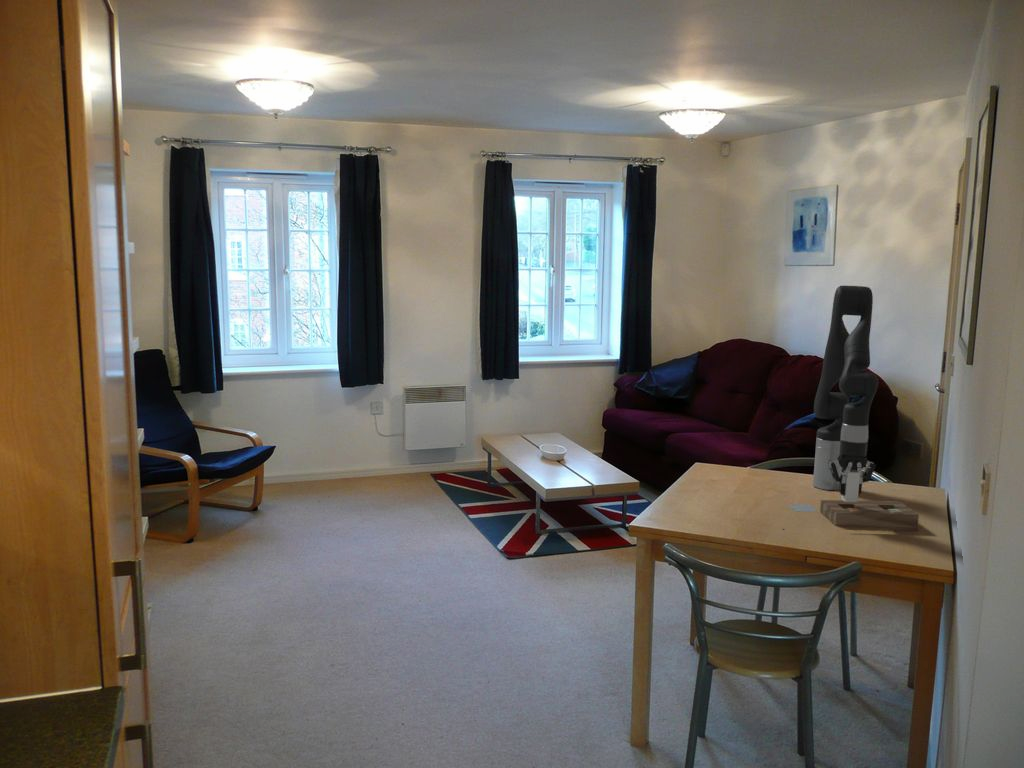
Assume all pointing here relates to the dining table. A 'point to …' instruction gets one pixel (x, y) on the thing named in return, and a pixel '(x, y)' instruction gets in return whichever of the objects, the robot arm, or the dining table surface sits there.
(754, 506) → the dining table surface
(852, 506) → the socket block
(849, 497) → the plug
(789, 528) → the dining table surface
